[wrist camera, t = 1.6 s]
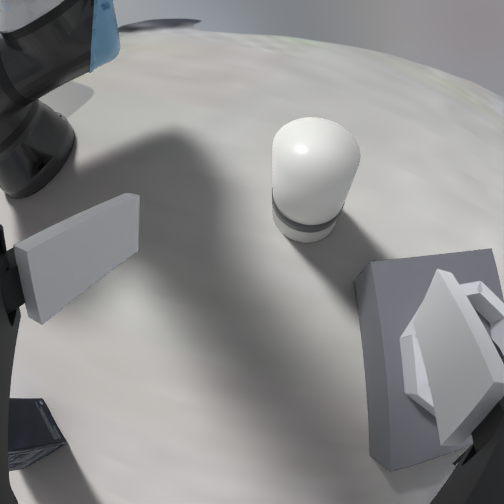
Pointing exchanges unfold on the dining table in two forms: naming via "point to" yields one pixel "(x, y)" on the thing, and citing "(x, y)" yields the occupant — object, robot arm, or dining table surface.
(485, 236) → the dining table surface
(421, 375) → the octagonal socket base
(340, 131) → the white glossy rounded part
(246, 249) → the dining table surface
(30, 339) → the dining table surface
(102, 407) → the dining table surface
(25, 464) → the small box
